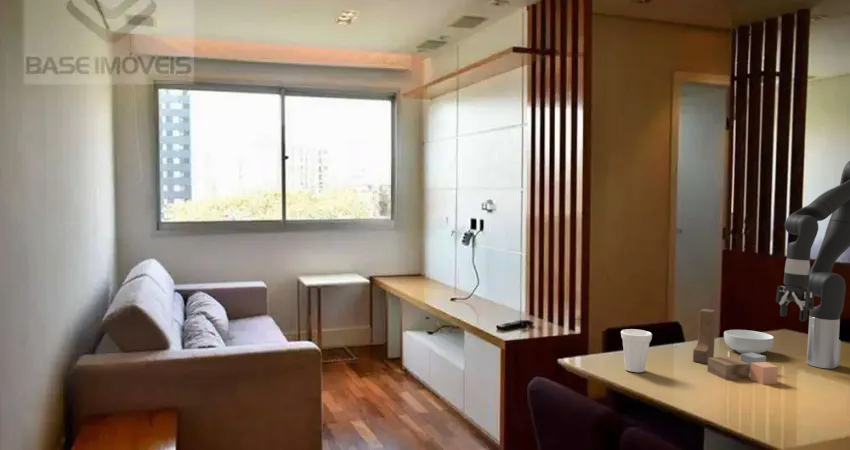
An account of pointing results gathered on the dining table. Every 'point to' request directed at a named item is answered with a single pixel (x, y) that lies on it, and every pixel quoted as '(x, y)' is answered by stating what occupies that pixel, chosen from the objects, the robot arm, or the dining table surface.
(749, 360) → the slate cube
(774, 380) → the terracotta cube
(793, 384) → the dining table surface
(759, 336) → the cereal bowl
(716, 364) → the walnut base block
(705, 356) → the wooden block
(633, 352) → the cup
